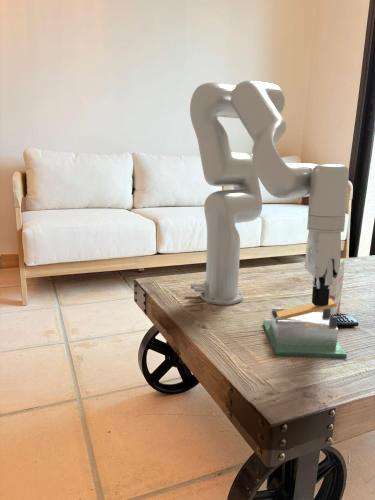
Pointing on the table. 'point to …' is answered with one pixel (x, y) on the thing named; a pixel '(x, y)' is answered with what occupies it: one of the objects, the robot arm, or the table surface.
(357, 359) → the table surface
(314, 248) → the robot arm
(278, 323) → the board
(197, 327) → the table surface
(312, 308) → the orange wooden bar
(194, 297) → the table surface
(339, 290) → the ink cartridge box
